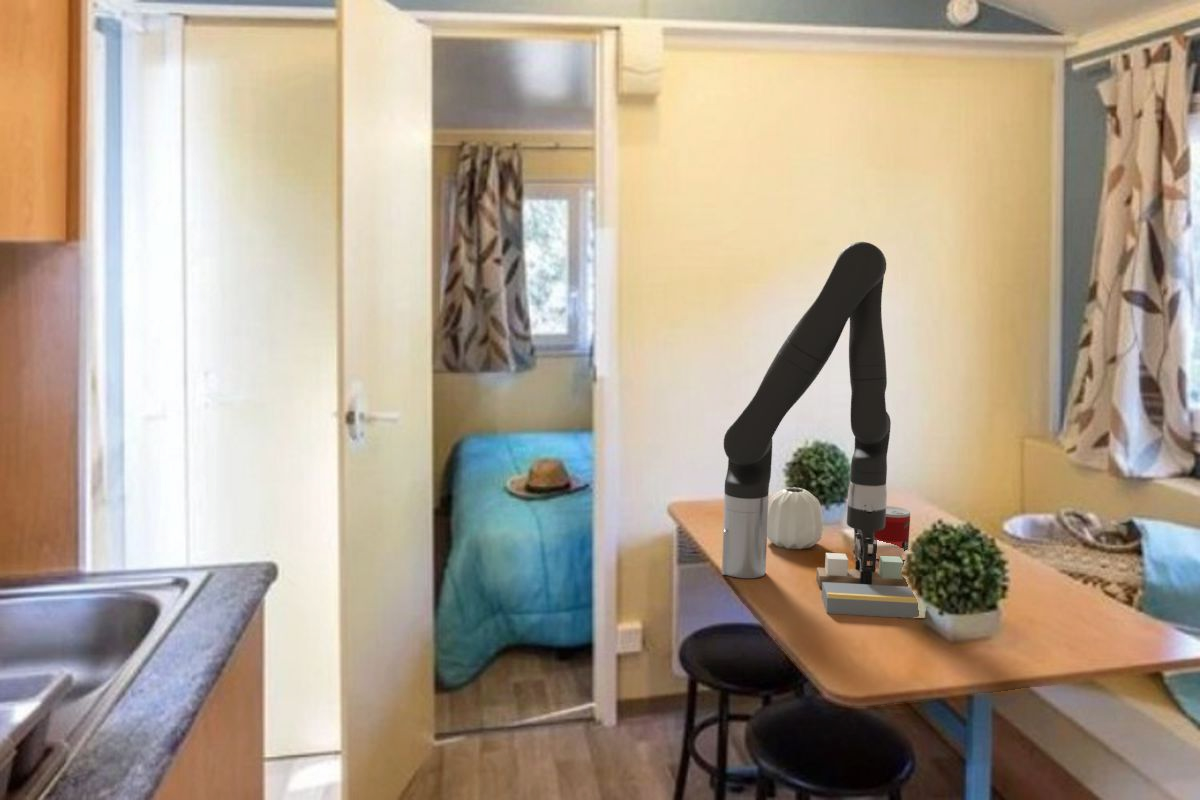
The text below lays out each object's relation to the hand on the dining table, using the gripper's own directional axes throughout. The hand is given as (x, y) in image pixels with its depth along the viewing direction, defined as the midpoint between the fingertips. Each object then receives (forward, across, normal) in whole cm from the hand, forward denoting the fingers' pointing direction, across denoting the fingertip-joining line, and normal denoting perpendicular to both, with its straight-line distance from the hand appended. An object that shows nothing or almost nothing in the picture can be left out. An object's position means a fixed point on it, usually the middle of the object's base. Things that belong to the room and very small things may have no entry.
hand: (862, 583), depth 183 cm
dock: (+1, +12, 0) cm, 12 cm away
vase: (+1, -27, -12) cm, 30 cm away
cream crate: (-2, 0, -6) cm, 6 cm away
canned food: (+1, -21, +9) cm, 23 cm away
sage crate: (-2, 0, +5) cm, 6 cm away
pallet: (+1, 0, 0) cm, 1 cm away
